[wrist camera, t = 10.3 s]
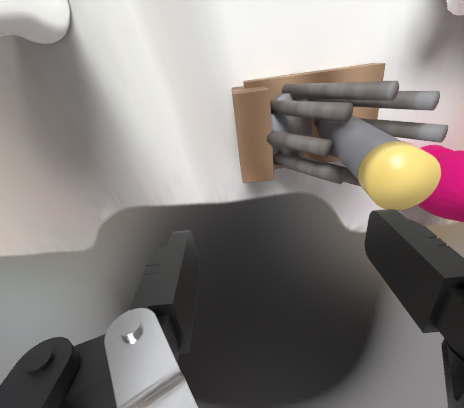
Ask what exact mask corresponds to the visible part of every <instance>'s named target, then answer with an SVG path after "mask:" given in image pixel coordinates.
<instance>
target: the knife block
mask: <svg viewBox="0 0 464 408" xmlns="http://www.w3.org/2000/svg"><path fill="white" fill-rule="evenodd" d="M384 69H385V63H372V64H364V65H357V66H350V67H343V68H335V69H328V70H321V71H313V72H306V73H299V74H291V75H284V76H277V77H269V78H262V79H255V80H247V81H244V86H243V87H235V88H232V95H233V104H234V113H235V122H236V130H237V139H238V148H239V157H240V165H241V172H242V180H243V183H250V182H258V181H266V180H274V170H273V169H276V168H284V167H285V168H288V169H292V170H295V171H298V172H302V173H305V174H308V175H312V176H315V177H318V178H322V179H325V180H328V181H332V182H335V183H338V184H341V183H343V182H347V183H350V184H354V185H357V186H361V185H360V183H359V181H358V180H357V178H356V177H355V176H354V175H353V174H352V173H351V172H350V171H349V169H348V168H346V167H342V166H338V165H334V164H329V163H325V162H333V161H341V160H340V159H339V158H338V157H337V156H336V155H335V153H334V152H333V151H332V150H333V142H332V140H328V139H322V138H321V137H320V136H319V132H318V126H319V123H320V121H321V119H326V120H336V121H349V120H350V118H351V117H352V115H354V116H356V117H357V118H359V119H361V120H363V121H365V122H367V123H369V124H370V125H372V126H374V127H376V128H378V129H380V130H381V131H383V132H385V133H387V134H389V135H391V136H393V137H400V138H408V139H416V140H424V141H432V142H440V143H441V142H442V141H443V140H444V139H445V137H446V134H447V131H448V126H447V125H438V124H426V123H413V122H401V121H389V120H377V117H378V110H379V108H391V109H413V110H434V109H435V108H436V106H437V104H438V102H439V98H440V92H439V91H398V90H399V83H398V81H383V76H384Z"/></svg>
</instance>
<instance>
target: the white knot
mask: <svg viewBox="0 0 464 408" xmlns="http://www.w3.org/2000/svg"><path fill="white" fill-rule="evenodd" d="M446 1H447V7H448V10H449V11H450V12H451V13H453V14H454V15H464V0H446Z"/></svg>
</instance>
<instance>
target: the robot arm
mask: <svg viewBox="0 0 464 408" xmlns="http://www.w3.org/2000/svg"><path fill="white" fill-rule="evenodd" d="M365 251H366V254H367V256H368V258H369V260H370V261H371V263H372V264H373V265H374V266H375V268H376V269H377V271H378V272H379V273H380V275H381V276H382V277H383V279H384V280H385V282H386V283H387V284H388V286H389V287H390V288H391V290H392V291H393V293H394V294H395V295H396V297H397V298H398V299H399V301H400V302H401V303H402V305H403V306H404V307H405V309H406V310H407V312H408V313H409V314H410V316H411V317H412V318H413V320H414V321H415V323H416V324H417V325H418V327H419V328H420V329H421V331H422V332H423V333H430V332H440V333H441V334H442V335H443V337H444V340H443V342H442V346H441V347H442V356H443V366H444V375H445V385H446V393H447V402H448V403H447V404H448V408H464V258H463V257H462V256H461V255H459V254H458V253H457V252H456V251H454V250H453V249H452V248H451V247H450V246H447V245H446V243H445V242H443V241H442V240H441V239H440V238H437V236H436V235H435V234H434V233H432V232H431V231H430V230H429V229H427V228H426V227H425V226H422V225H420V224H418V223H416V222H414V221H412V220H408V219H406V218H405V217H404V216H403V215H402V214H401V213H399V212H398V211H397V210H396V209H386V210H376V211H372V212H371V213H370V215H369V221H368V227H367V232H366V238H365ZM198 281H199V261H198V256H197V252H196V248H195V243H194V239H193V235H192V232H191V231H190V230H187V231H178V232H172V233H171V235H170V238H169V241H168V244H167V245H165V246H159V247H158V248H157V249H156V250H155V252H153V254H152V255H151V256H150V259H149V261H148V264H147V268H146V269H145V271H144V276H143V277H142V279H141V282H140V284H139V287H138V289H137V292H136V294H135V297H134V299H133V302H132V304H131V307H130V309H129V311H128V312H125V313H124V314H122V315H121V316H119V317H118V318H117V319H116V320H115V321H114V322H113V323H112V324H111V325H110V327H109V328H108V330H107V332H106V334H104V335H102V336H99V337H97V338H94V339H92V340H89V341H86V342H84V343H81V344H78V345H76V346H73V345H72V344H71V342H70V341H69V340H68V339H67V338H64V337H55V338H51V339H48V340H46V341H43V342H41V343H39V344H38V345H36V346H35V347H33V348H32V349H30V350H29V351H28V352H27V353H26V354H25V355H24V356H23V357H22V358H21V359H20V360H19V361H18V362H17V363H16V365H15V366H14V367H13V369H12V370H11V371H10V373H9V374H8V376H7V377H6V378H5V380H4V381H3V383H2V384H1V385H0V408H198V407H197V405H196V402H195V400H194V398H193V396H192V394H191V391H190V389H189V387H188V385H187V383H186V380H185V378H184V376H183V374H182V373H181V371H180V369H179V367H178V358H179V354H182V353H189V350H190V343H191V335H192V327H193V319H194V312H195V304H196V296H197V288H198Z"/></svg>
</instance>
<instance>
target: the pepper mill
mask: <svg viewBox="0 0 464 408" xmlns="http://www.w3.org/2000/svg"><path fill="white" fill-rule="evenodd" d="M420 149H422V150H423V151H425V152H427V153H429V154H431V155H432V156H434V157H435V158H436V159H437V161H438V162H439V164H440V168H441V177H440V181H439V183H438V185H437V187H436V189H435V190H434V192H433V193H432V194H431V195H430V196H429V197H428V198H427V199H425V200H424V201H423V202H421V203H420V204H418V205H419V206H420V207H421V208H422V209H424V210H426V211H428V212H429V213H431V214H433V215H436V216H439V217H442V218H445V219H450V220H455V221H460V222H464V151H453V150H450V149H448V148H445V147H443V146H439V145H429V146H425V147H422V148H420Z"/></svg>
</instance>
